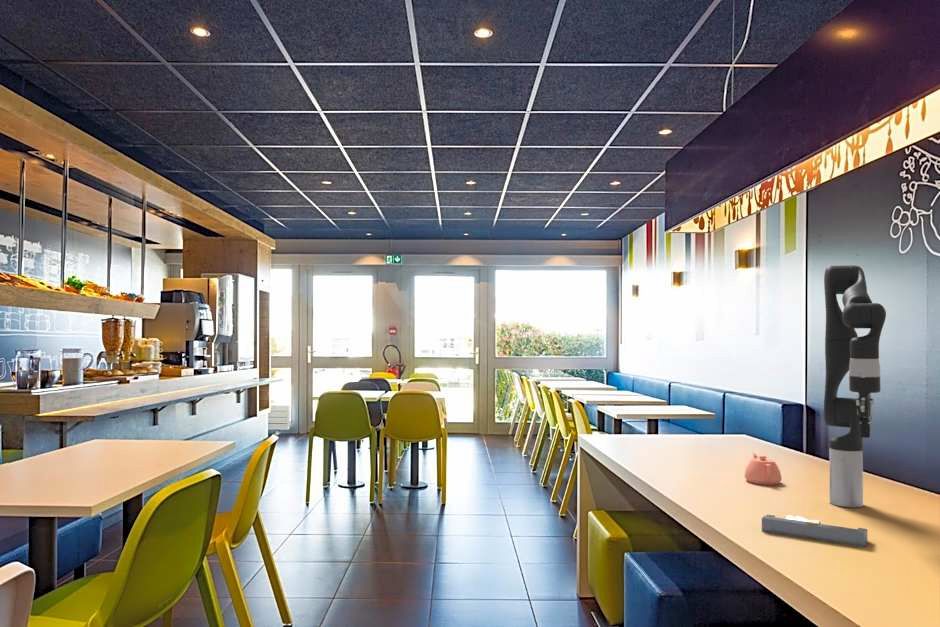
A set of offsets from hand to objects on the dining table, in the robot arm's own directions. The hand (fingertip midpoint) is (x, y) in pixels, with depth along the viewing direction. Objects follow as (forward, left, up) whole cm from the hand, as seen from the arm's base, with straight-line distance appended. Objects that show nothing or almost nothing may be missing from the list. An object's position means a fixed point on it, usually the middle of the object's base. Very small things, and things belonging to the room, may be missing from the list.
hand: (865, 437), depth 191 cm
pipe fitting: (+15, -13, -25) cm, 32 cm away
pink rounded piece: (-46, -36, -25) cm, 64 cm away
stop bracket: (+20, -10, -24) cm, 33 cm away
